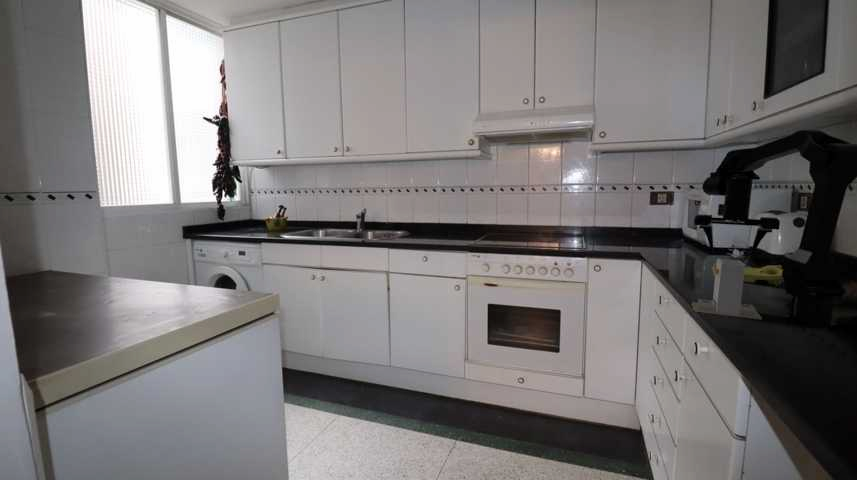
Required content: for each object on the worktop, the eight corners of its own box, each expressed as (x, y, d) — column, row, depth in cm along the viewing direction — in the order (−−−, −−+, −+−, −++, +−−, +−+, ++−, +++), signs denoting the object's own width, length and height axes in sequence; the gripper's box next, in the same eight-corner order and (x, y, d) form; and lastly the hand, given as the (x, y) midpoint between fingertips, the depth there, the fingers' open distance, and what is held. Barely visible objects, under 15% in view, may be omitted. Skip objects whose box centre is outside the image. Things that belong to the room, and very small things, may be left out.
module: (734, 307, 101) (739, 259, 99) (739, 314, 95) (745, 264, 93) (708, 304, 103) (713, 258, 102) (712, 311, 98) (717, 262, 96)
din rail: (754, 311, 99) (755, 303, 99) (761, 319, 93) (762, 311, 93) (691, 303, 105) (692, 296, 105) (694, 311, 99) (695, 303, 99)
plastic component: (709, 270, 134) (721, 255, 138) (713, 289, 136) (724, 272, 141) (786, 278, 117) (796, 260, 122) (789, 298, 120) (799, 280, 124)
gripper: (780, 196, 112) (773, 251, 114) (699, 195, 123) (694, 245, 126) (783, 197, 103) (775, 257, 106) (696, 196, 115) (691, 250, 117)
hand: (731, 252), depth 114 cm, fingers open, 9 cm apart
